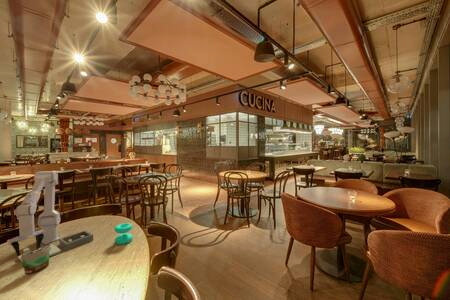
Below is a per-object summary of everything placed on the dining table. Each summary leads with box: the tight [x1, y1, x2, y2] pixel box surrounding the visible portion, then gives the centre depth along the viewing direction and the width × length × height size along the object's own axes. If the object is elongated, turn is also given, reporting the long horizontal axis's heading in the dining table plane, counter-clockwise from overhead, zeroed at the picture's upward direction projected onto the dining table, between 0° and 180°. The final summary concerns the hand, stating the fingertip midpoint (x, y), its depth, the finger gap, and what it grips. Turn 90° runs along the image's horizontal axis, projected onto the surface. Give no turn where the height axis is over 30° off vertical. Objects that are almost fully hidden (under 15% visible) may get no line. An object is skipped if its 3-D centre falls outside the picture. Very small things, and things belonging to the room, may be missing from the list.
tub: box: [58, 230, 94, 251], centre depth 127 cm, size 11×14×4 cm
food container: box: [21, 243, 52, 275], centre depth 101 cm, size 12×6×10 cm, turn 168°
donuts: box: [114, 222, 134, 245], centre depth 128 cm, size 10×10×10 cm
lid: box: [17, 244, 62, 264], centre depth 112 cm, size 12×15×6 cm
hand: (28, 252), depth 108 cm, fingers open, 7 cm apart
